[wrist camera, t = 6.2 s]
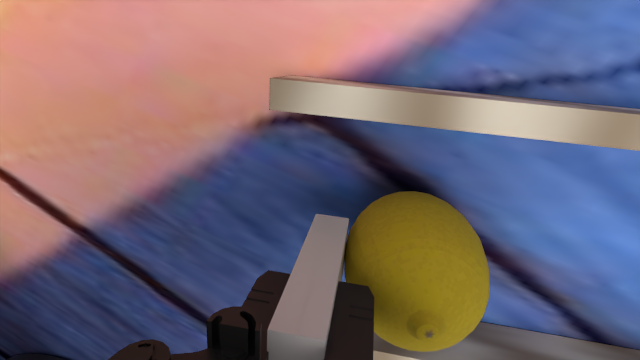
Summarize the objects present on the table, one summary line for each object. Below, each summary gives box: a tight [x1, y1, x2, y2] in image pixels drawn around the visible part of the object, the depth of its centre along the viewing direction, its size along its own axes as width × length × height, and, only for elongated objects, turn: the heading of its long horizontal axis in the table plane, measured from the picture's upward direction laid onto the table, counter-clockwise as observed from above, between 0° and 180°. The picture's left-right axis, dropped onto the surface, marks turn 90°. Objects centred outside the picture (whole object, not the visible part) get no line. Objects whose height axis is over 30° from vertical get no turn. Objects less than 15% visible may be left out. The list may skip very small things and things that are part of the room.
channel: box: [269, 76, 640, 360], centre depth 15 cm, size 25×13×4 cm, turn 85°
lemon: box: [344, 191, 489, 352], centre depth 14 cm, size 6×6×8 cm
